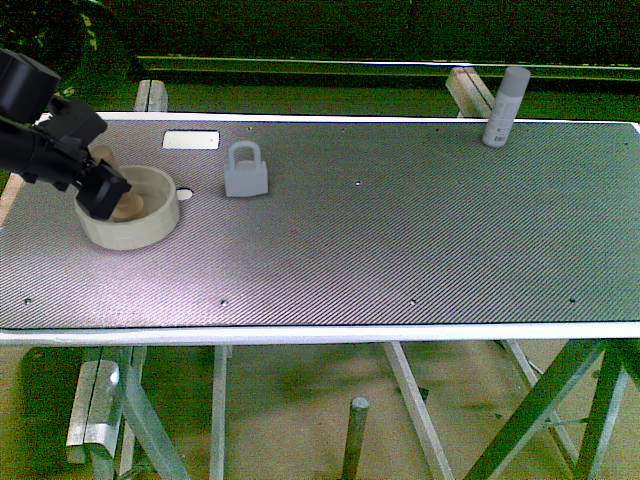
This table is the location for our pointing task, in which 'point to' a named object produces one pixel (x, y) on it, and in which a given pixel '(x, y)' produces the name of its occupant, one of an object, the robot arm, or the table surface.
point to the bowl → (144, 231)
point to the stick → (129, 203)
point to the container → (506, 106)
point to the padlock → (245, 172)
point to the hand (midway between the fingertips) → (125, 183)
